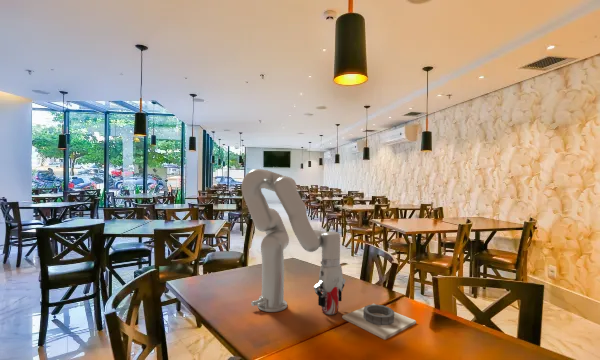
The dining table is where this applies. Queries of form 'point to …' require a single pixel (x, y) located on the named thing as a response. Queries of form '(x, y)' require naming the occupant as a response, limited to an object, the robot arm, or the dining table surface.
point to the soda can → (331, 301)
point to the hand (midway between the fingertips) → (330, 303)
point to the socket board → (378, 328)
